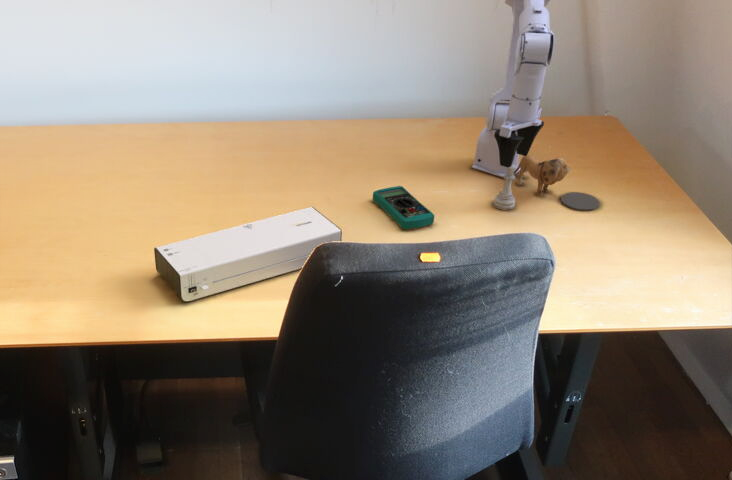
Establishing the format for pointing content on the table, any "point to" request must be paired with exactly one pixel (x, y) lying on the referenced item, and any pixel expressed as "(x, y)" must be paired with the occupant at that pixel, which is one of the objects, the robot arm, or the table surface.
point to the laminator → (243, 253)
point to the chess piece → (506, 191)
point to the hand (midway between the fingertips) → (513, 160)
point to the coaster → (580, 201)
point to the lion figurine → (542, 171)
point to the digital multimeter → (403, 207)
